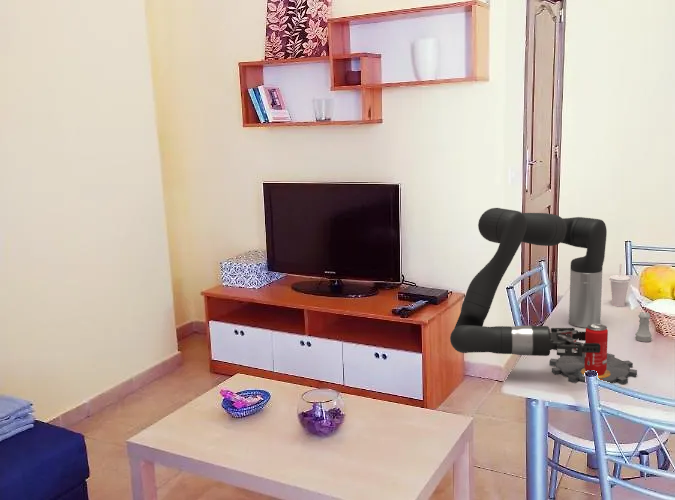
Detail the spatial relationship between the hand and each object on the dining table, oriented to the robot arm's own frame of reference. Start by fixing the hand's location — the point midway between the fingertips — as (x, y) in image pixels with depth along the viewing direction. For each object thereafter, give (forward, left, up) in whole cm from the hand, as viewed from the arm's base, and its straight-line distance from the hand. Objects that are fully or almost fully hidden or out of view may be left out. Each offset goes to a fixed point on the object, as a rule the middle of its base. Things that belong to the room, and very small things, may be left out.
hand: (597, 342), depth 170 cm
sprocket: (-5, 0, -9) cm, 11 cm away
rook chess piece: (-29, +18, -10) cm, 35 cm away
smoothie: (-63, +18, -10) cm, 66 cm away
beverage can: (0, 0, -8) cm, 8 cm away
